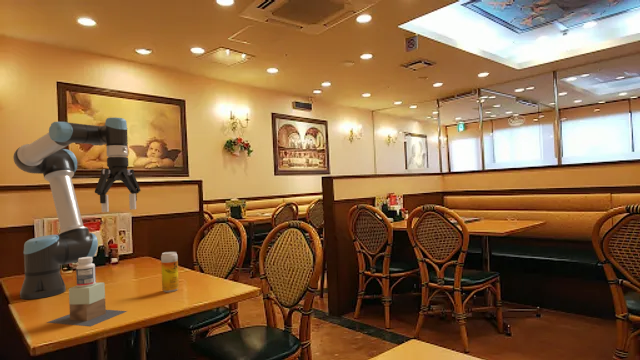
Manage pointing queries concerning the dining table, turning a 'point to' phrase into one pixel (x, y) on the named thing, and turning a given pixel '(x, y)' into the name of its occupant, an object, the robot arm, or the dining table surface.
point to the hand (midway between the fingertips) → (119, 210)
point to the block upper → (86, 294)
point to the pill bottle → (85, 272)
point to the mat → (91, 322)
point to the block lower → (87, 310)
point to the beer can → (169, 271)
